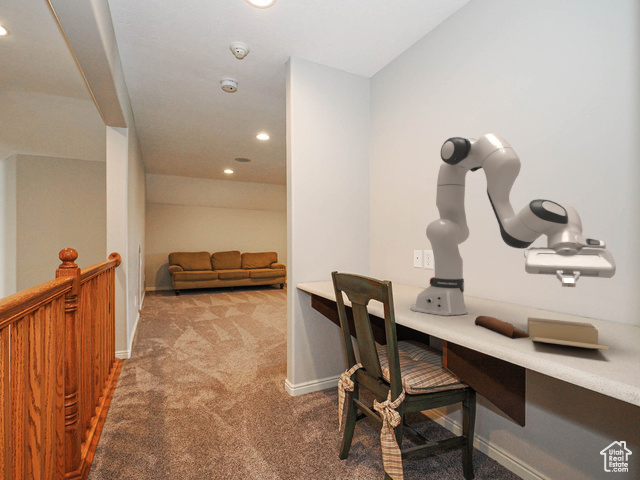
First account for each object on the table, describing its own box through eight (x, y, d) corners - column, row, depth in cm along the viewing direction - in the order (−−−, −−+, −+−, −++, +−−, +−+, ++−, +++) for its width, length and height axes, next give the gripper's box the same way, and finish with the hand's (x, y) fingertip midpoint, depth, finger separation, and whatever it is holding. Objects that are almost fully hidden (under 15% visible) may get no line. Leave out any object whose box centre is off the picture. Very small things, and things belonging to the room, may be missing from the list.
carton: (529, 340, 97) (529, 323, 97) (527, 332, 105) (527, 316, 105) (598, 348, 89) (598, 330, 89) (590, 340, 97) (590, 323, 97)
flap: (531, 341, 96) (535, 340, 86) (531, 338, 96) (535, 337, 86) (596, 349, 89) (608, 349, 79) (596, 346, 89) (608, 346, 79)
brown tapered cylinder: (537, 338, 98) (527, 320, 98) (519, 351, 97) (509, 333, 97) (495, 323, 116) (486, 308, 116) (480, 334, 115) (471, 318, 114)
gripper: (524, 240, 99) (523, 275, 91) (612, 241, 88) (620, 281, 80) (524, 254, 103) (523, 289, 95) (608, 256, 92) (616, 296, 84)
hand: (568, 285), depth 87 cm, fingers closed
